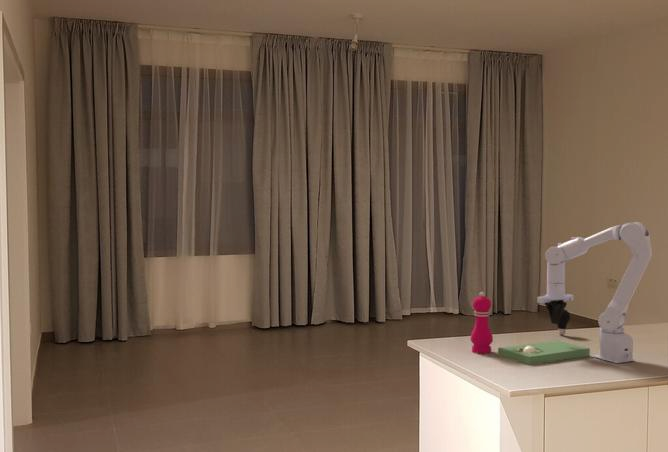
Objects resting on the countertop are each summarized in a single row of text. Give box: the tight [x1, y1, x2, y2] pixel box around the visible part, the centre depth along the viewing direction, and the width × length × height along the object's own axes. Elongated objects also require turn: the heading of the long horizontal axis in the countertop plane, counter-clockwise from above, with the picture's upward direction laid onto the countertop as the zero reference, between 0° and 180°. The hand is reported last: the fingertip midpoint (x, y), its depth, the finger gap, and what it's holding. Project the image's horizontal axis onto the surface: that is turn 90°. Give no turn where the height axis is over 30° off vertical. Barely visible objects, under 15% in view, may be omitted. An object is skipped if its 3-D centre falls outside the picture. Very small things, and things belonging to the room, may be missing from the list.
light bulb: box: [556, 308, 571, 337], centre depth 248 cm, size 6×6×10 cm
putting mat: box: [497, 339, 591, 366], centre depth 216 cm, size 14×26×2 cm, turn 117°
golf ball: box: [523, 346, 536, 352], centre depth 212 cm, size 4×4×4 cm
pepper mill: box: [470, 291, 494, 355], centre depth 221 cm, size 7×7×20 cm
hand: (555, 323), depth 222 cm, fingers closed
